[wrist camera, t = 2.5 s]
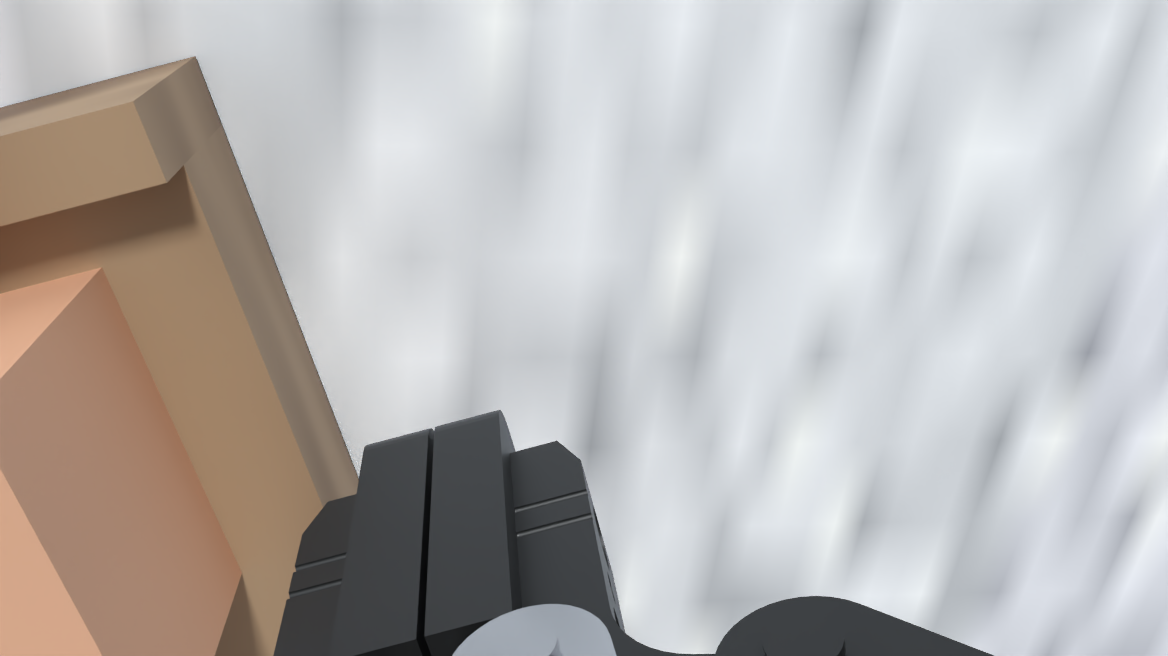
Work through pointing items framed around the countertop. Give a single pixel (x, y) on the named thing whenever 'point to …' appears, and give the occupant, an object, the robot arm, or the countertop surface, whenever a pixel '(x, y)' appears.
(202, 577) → the block
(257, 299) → the brown wooden compartment frame
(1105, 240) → the countertop surface
